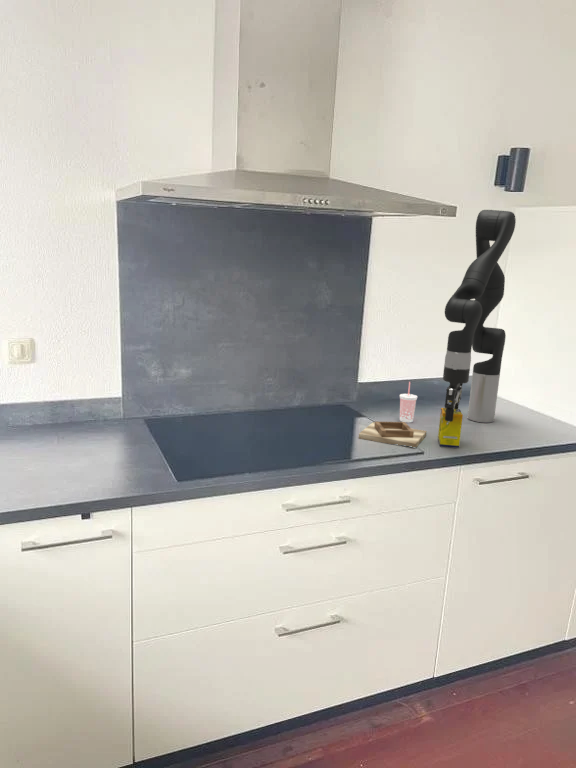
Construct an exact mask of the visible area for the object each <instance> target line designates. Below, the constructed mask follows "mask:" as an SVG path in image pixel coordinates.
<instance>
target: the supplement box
mask: <svg viewBox="0 0 576 768" xmlns="http://www.w3.org/2000/svg"><path fill="white" fill-rule="evenodd" d="M445 415H446V408H445V407H440V415H439V416H440V417H439V425H438V435H437V442H438V445H439V447H441V448H450V449H451V448H454V449H459V448H460V443H461V433H462V424H463V417H464V415H463V413H462V411H461V409H460V408H458V409H454V415H453V421H452V422H450V421H446V420H445Z"/></svg>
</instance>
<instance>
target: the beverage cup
mask: <svg viewBox="0 0 576 768" xmlns="http://www.w3.org/2000/svg"><path fill="white" fill-rule="evenodd" d="M410 391H411V381H408V390H407V393H400V394H399V422H405V423H412V422H414V417H415V412H416V411H415V410H416V405H417V399H418V395H416V394H412V393H410Z"/></svg>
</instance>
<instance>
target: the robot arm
mask: <svg viewBox="0 0 576 768" xmlns="http://www.w3.org/2000/svg"><path fill="white" fill-rule="evenodd" d="M516 221H517V220H516V214H515V213H514V212H513V211H509V210H494V209H482V210H480V211H479V213H478V214H477V217H476V222H475V250H476V251H475V252H476V258H475V260H473V261H472V262H471V263H470V265H469V266H468V268H467V269H466V271H465V272H464V273H465V274H464V276H463V279H462V281H461V284H460V285H459V286H458V288H457V289H456V290H455V292H454V293H453V294H452V295H451V297H450V298H449V299H448V301H447V303H446V305H445V307H444V316H445V318H446V320H447V321H448V322H451V323H458V324H464V327H463V328H462V329H461V330H459V329H458V330H453V331H450V332H448V333H449V334H448V336H447V345H446V353H445V356H444V363H443V364H444V365H443V366H444V367H443V375H442V379H443V381H444V382H447V383H449V385H448V387H446V390H445V391H446V393H445V394H446V395H445V400H444V401H445V402H444V408H446V415H445V420H446V421H450V422H452V421H453V415H454V409H459V405H460V402H461V400H462V391H463V384H468V382H469V379H470V372H471V361H472V351H473V352H474V353H477V354H486V355H492V357H491V358H489V359H488V360H484V361H479V362H475V363H474V364H473V368H472V374H471V375H472V376H471V384H470V385H471V386H470V393H469V400H468V401H469V402H468V410H467V415H466V416H467V417H468V418H467V419H468V420H469V421H473V422H478V423H486V424H487V423H493V422H494V421H495V416H496V409H497V401H498V391H499V386H500V385H499V383H500V377H501V376H500V375H501V368H502V360H503V354H504V350H505V349H504V348H505V344H506V337H507V336H506V330H505V329H503V328H497V327H490V326H489V327H487V326H484V324H485V321H486V320H487V319H488V317H489V316H490V315H491V313H492V312H493V311H494V310H495V308H497V306H498V305H499V304H500V303H501V301H502V300H503V298H504V295H505V282H506V281H505V280H506V279H505V274H504V272H503V270H502V268H501V266H500V265H499V263H498V262H499V260H500V258H501V256H502V255H503V254H504V251H505V250H506V248H507V247H508V244H509V243H510V241H511V239H512V237H513V235H514V232H515V228H516ZM491 241H492V242H493V244H491V243H490V242H491ZM449 403H450V404H449Z"/></svg>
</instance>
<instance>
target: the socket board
mask: <svg viewBox="0 0 576 768" xmlns="http://www.w3.org/2000/svg"><path fill="white" fill-rule="evenodd" d="M426 436H427V430H423V429H418V428H417V429H416V428H413V427H412V428H411V427H410V426H409V425H408V424H407V422H402V421H373V422H372V423H370V424H369V425H368V426H366V427H365V428H364V429H362V430H361V431H360V432H359V433H358V439H361V440H366V441H367V440H368V441H373V442H377V443H384V444H390V445H393V444H398V445H397V446H399V445H406V446H412V447H416V448H417V447H418V446H419V445H420V444H421V442H422V441H423V440H424V439H425V437H426Z"/></svg>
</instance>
